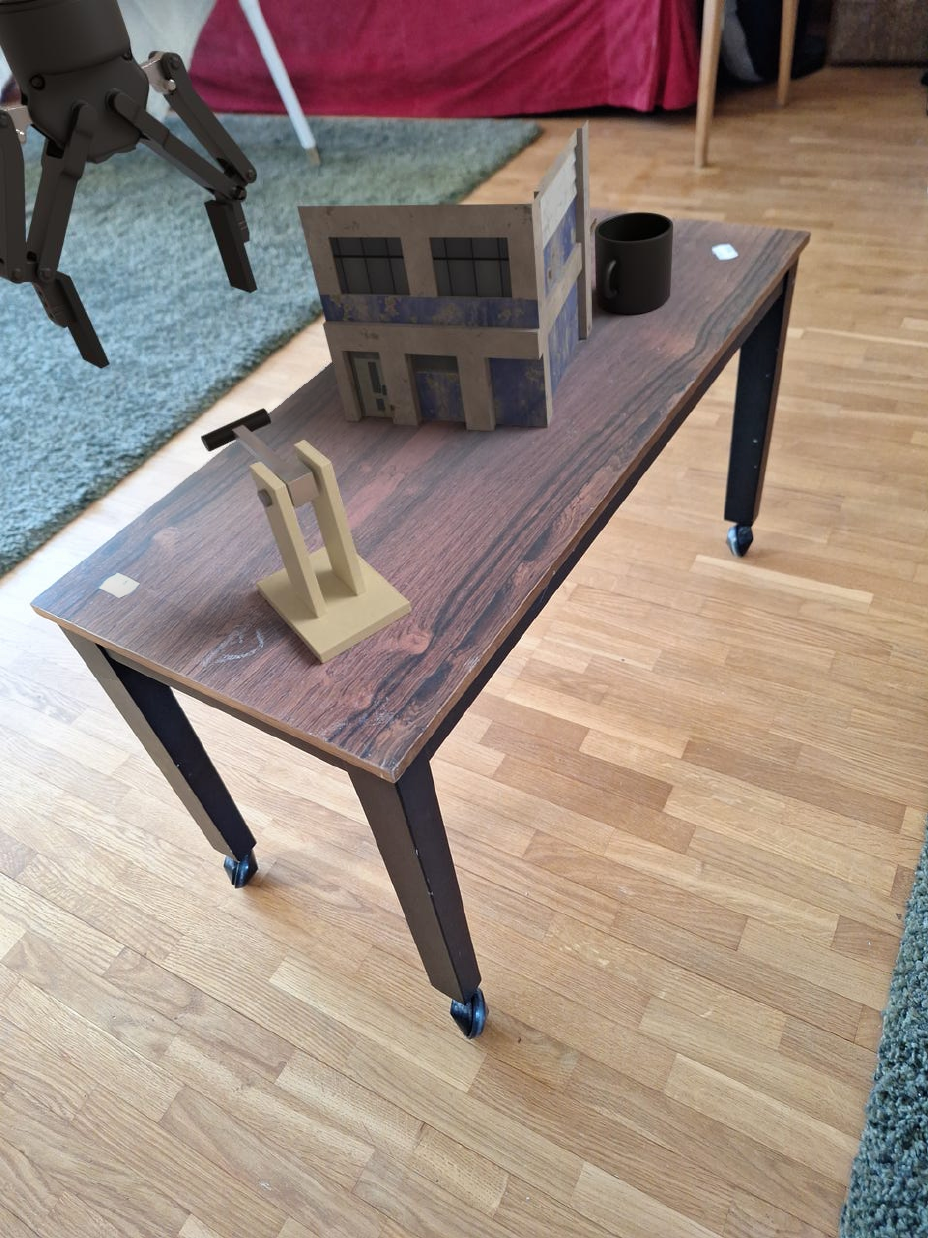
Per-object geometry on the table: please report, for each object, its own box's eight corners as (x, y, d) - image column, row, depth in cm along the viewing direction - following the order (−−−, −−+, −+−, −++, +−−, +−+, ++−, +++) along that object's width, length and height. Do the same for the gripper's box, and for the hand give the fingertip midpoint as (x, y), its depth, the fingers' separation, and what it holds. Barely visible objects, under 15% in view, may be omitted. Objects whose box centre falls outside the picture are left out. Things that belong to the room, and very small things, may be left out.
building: (346, 420, 98) (293, 209, 82) (418, 321, 113) (385, 127, 97) (544, 434, 91) (529, 206, 75) (592, 327, 106) (588, 118, 90)
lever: (206, 452, 74) (196, 428, 73) (267, 424, 76) (259, 400, 75) (274, 519, 66) (265, 494, 64) (340, 486, 68) (333, 460, 67)
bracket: (259, 592, 78) (205, 457, 68) (342, 547, 82) (303, 411, 71) (322, 664, 71) (273, 524, 61) (412, 611, 74) (379, 470, 64)
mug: (571, 316, 109) (569, 244, 103) (618, 277, 115) (618, 207, 109) (638, 329, 105) (639, 255, 98) (683, 288, 111) (687, 216, 104)
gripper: (-145, 45, 43) (50, 412, 58) (247, -60, 55) (326, 269, 69) (-190, 38, 47) (2, 382, 62) (183, -58, 59) (271, 252, 74)
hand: (174, 323), depth 66 cm, fingers open, 13 cm apart
